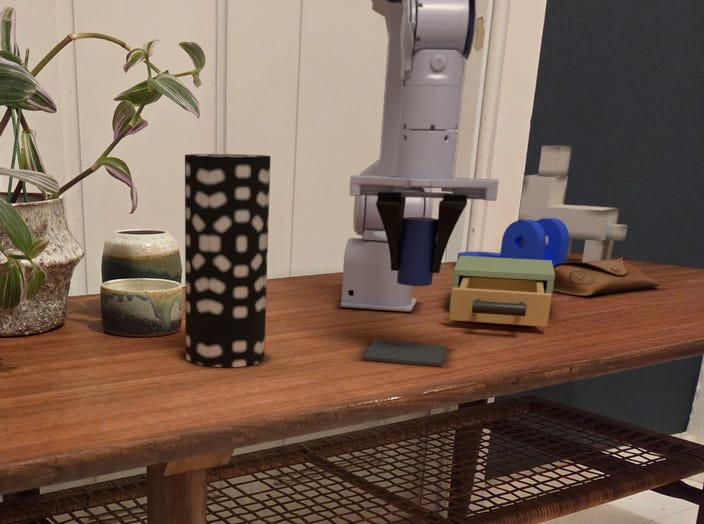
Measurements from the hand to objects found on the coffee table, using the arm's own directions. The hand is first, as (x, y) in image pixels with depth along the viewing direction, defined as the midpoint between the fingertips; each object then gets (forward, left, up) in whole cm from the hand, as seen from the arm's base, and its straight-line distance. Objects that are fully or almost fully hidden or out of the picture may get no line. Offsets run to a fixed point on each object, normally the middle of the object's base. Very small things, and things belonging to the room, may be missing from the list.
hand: (415, 270), depth 92 cm
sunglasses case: (+24, +53, -9) cm, 59 cm away
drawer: (+9, +20, -8) cm, 23 cm away
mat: (0, 0, -9) cm, 9 cm away
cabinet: (+9, +33, -9) cm, 35 cm away
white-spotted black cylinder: (-18, -8, -9) cm, 22 cm away
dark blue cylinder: (0, 0, -1) cm, 1 cm away
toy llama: (+20, +79, -9) cm, 82 cm away
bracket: (+9, +67, -9) cm, 68 cm away
